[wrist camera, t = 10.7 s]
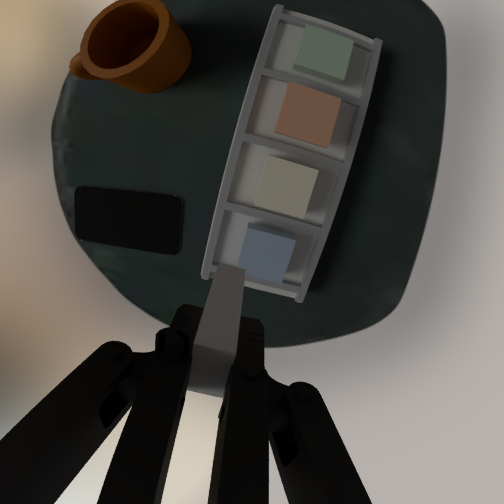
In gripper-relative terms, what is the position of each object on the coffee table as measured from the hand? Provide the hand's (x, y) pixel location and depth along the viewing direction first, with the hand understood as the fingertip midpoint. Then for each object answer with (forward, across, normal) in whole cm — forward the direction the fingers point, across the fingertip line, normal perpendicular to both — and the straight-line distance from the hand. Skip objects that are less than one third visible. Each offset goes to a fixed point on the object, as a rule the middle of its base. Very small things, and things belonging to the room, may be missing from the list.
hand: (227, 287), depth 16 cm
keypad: (+16, +3, +8) cm, 18 cm away
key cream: (+14, +3, +4) cm, 15 cm away
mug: (+17, -16, +15) cm, 28 cm away
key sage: (+14, +4, +18) cm, 24 cm away
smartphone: (+17, -14, -4) cm, 22 cm away
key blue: (+14, +3, -3) cm, 14 cm away
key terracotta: (+13, +3, +11) cm, 18 cm away
